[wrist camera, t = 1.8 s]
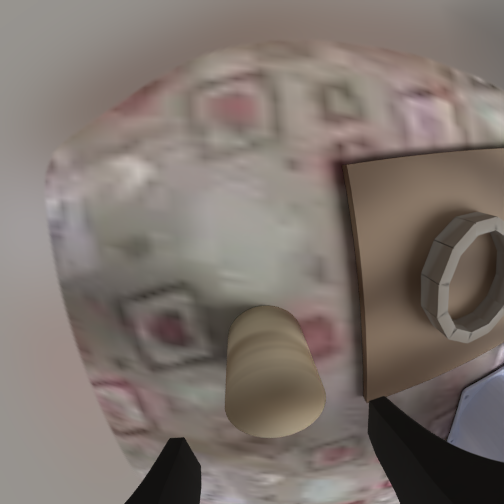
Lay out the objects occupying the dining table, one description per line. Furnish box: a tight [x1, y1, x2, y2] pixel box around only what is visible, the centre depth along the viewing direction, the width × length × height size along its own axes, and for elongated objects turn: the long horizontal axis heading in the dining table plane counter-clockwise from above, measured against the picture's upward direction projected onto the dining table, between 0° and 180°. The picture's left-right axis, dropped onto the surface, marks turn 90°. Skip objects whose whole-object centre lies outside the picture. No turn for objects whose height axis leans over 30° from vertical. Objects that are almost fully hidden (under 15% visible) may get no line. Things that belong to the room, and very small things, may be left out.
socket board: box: [342, 148, 504, 403], centre depth 16 cm, size 16×16×3 cm
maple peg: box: [225, 306, 326, 438], centre depth 15 cm, size 4×4×6 cm
